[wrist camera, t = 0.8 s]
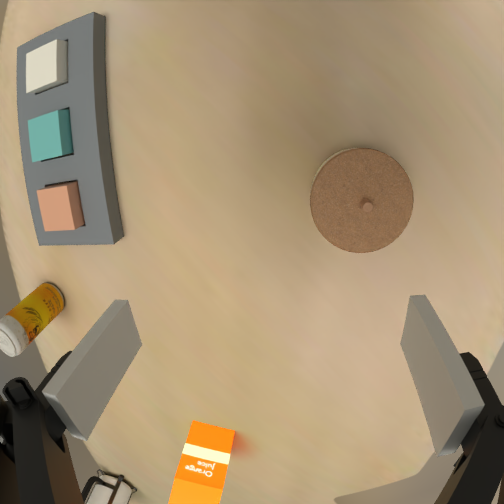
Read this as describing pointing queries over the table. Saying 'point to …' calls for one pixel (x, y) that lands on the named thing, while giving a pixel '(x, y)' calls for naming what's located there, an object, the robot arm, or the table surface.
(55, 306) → the beer can
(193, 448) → the orange juice
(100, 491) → the coffee press
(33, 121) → the teal button
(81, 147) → the panel
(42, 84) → the cream button
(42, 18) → the table surface
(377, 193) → the lidded jar
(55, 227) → the terracotta button
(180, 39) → the table surface
